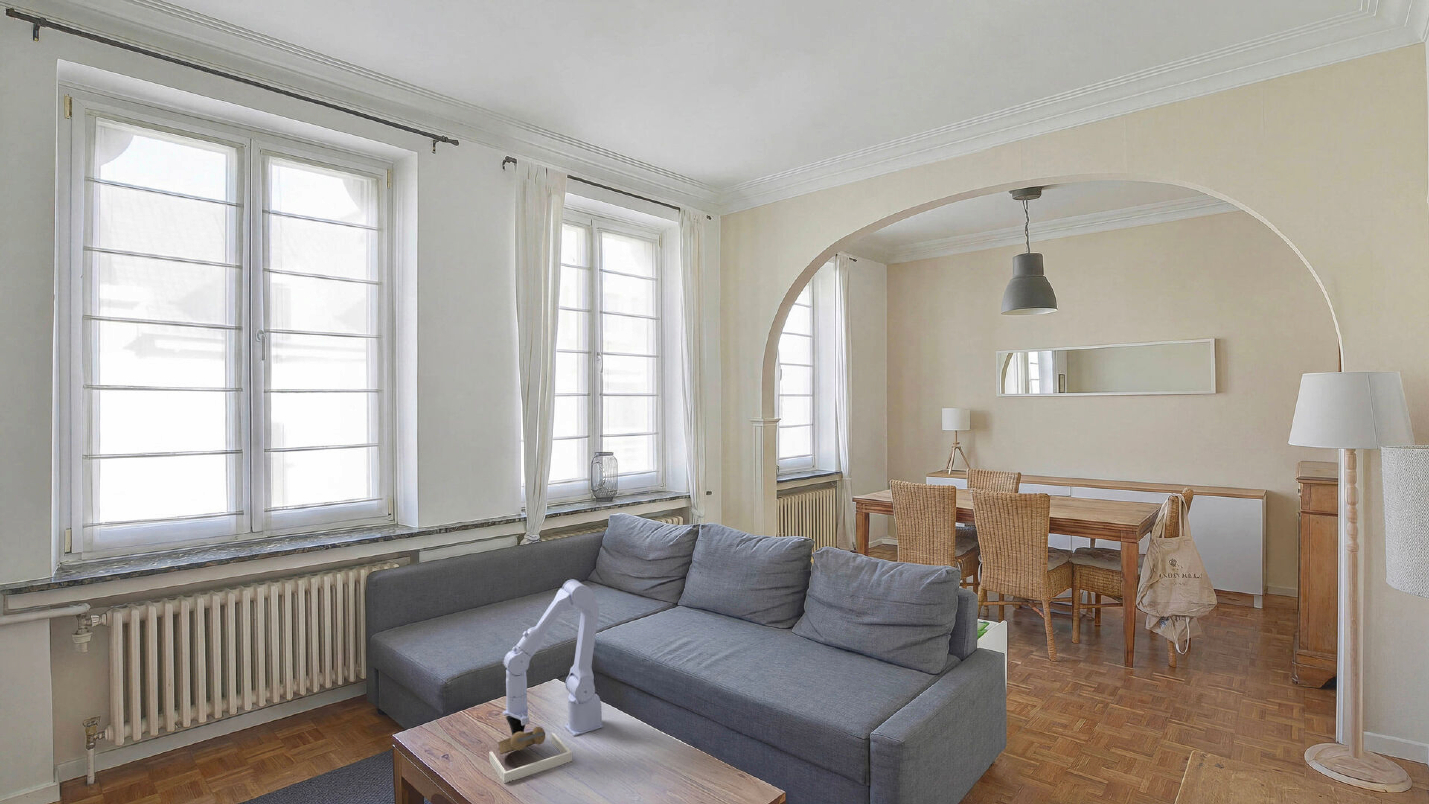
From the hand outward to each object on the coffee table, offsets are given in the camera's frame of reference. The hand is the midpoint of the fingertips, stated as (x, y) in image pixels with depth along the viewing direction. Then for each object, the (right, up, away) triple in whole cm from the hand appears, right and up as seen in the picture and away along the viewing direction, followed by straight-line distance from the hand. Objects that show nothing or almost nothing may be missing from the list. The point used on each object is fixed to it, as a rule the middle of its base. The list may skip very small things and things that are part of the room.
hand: (517, 740), depth 200 cm
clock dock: (+6, -1, -9) cm, 11 cm away
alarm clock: (+4, +1, -8) cm, 9 cm away
